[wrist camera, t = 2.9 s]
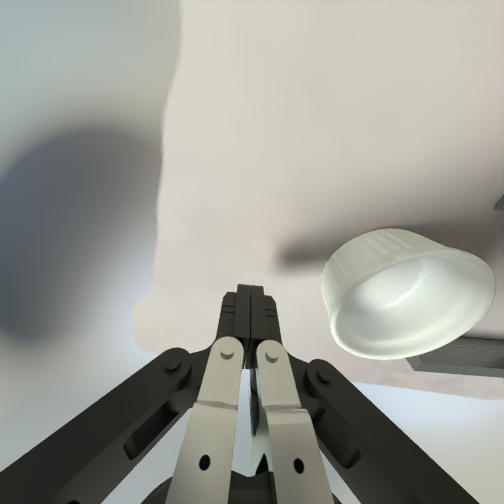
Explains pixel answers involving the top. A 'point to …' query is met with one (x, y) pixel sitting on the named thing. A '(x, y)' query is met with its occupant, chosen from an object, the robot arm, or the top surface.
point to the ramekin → (403, 294)
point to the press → (464, 354)
